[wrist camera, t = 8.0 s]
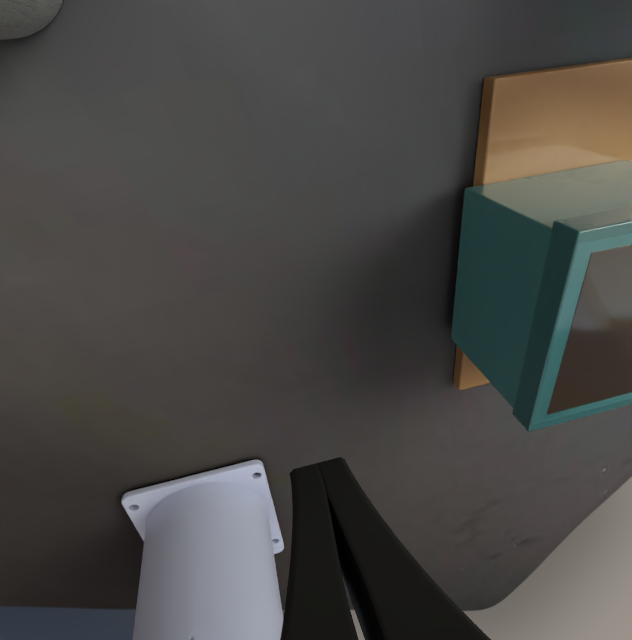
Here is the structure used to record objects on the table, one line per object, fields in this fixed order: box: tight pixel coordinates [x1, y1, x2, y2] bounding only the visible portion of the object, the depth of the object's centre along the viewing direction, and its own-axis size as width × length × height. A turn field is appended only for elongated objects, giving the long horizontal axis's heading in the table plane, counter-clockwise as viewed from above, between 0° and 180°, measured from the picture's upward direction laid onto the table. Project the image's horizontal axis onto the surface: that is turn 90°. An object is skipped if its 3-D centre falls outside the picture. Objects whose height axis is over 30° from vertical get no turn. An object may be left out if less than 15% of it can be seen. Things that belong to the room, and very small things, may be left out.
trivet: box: [453, 57, 632, 390], centre depth 21 cm, size 16×12×1 cm
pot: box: [451, 160, 632, 432], centre depth 18 cm, size 9×6×8 cm
